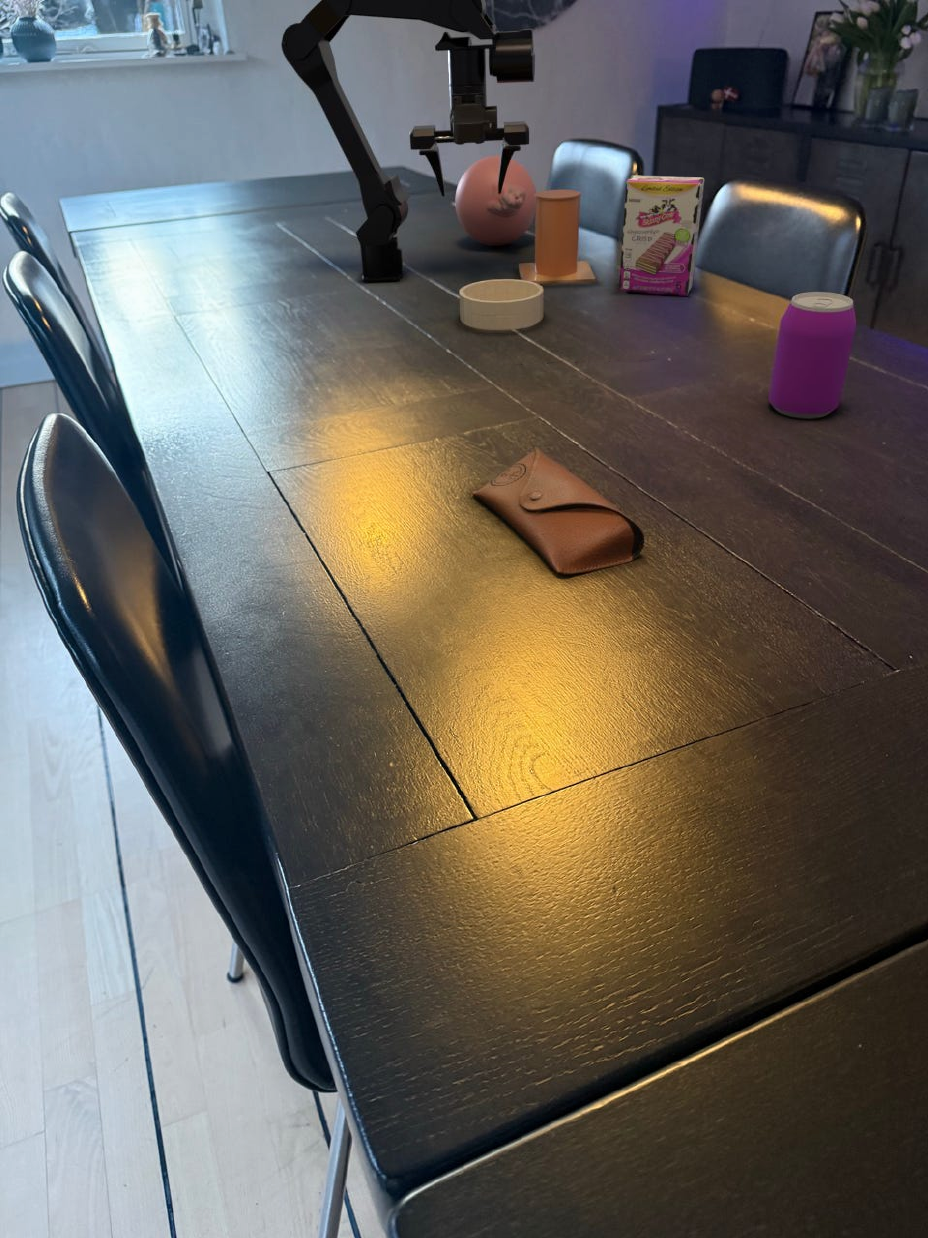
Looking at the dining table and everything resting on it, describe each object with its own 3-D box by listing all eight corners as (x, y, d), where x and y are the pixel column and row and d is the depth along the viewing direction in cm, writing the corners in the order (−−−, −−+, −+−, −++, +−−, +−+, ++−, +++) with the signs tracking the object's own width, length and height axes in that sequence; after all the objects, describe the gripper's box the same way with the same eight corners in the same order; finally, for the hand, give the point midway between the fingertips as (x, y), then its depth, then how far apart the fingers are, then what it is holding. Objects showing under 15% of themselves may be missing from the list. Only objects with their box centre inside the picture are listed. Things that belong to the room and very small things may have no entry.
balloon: (468, 262, 162) (465, 169, 154) (451, 239, 179) (447, 153, 170) (550, 256, 164) (552, 163, 155) (526, 233, 180) (526, 148, 172)
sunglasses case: (464, 490, 87) (494, 427, 85) (519, 509, 91) (549, 449, 89) (560, 578, 73) (599, 506, 71) (619, 594, 77) (658, 527, 75)
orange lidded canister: (559, 278, 147) (561, 199, 141) (525, 272, 152) (525, 194, 145) (586, 269, 152) (589, 191, 145) (552, 263, 156) (554, 187, 149)
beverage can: (828, 425, 97) (851, 314, 91) (758, 413, 101) (775, 305, 94) (845, 402, 103) (868, 294, 96) (778, 391, 106) (795, 286, 99)
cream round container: (460, 335, 128) (459, 303, 125) (460, 310, 138) (459, 280, 135) (545, 332, 128) (546, 300, 125) (540, 307, 138) (540, 277, 135)
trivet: (522, 287, 148) (522, 281, 147) (518, 269, 157) (519, 263, 157) (595, 284, 147) (595, 278, 147) (587, 266, 157) (587, 260, 157)
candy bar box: (617, 293, 143) (624, 180, 133) (623, 285, 146) (630, 174, 137) (689, 297, 139) (701, 181, 130) (693, 288, 143) (705, 175, 134)
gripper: (404, 91, 132) (412, 206, 140) (531, 85, 131) (531, 201, 140) (408, 85, 141) (415, 193, 150) (527, 79, 140) (527, 188, 149)
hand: (471, 194), depth 147 cm, fingers open, 9 cm apart
